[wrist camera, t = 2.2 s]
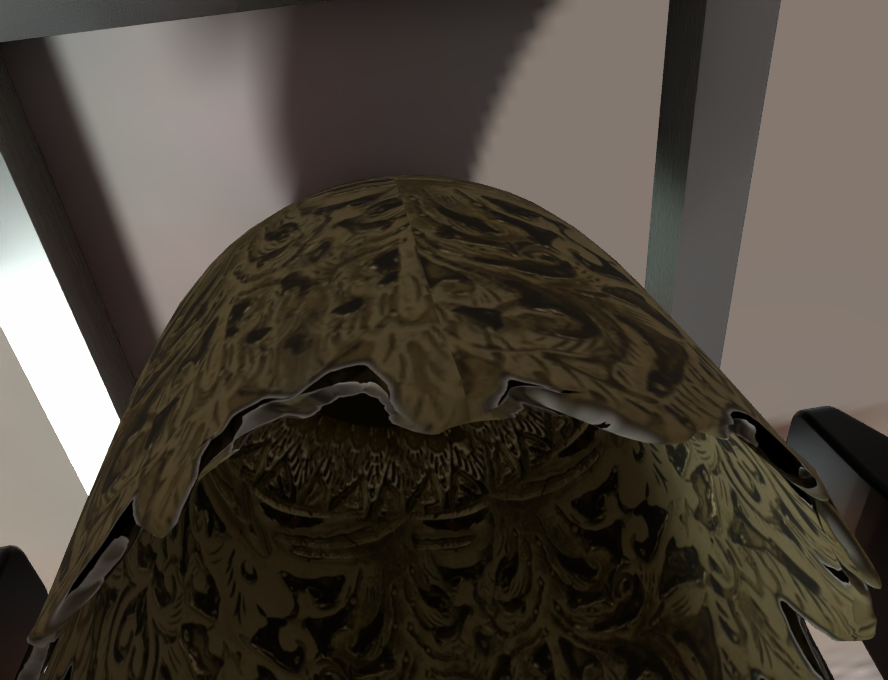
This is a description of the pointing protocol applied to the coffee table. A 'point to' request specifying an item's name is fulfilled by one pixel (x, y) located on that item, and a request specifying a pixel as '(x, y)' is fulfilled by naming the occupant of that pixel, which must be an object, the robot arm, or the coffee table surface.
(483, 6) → the coffee table surface
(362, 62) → the coffee table surface
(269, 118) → the coffee table surface
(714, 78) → the grey double frame
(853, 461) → the robot arm
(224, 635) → the bronze ornate bell
